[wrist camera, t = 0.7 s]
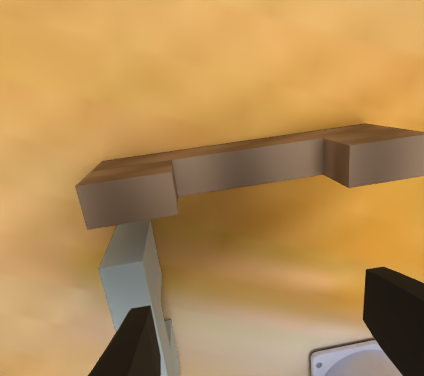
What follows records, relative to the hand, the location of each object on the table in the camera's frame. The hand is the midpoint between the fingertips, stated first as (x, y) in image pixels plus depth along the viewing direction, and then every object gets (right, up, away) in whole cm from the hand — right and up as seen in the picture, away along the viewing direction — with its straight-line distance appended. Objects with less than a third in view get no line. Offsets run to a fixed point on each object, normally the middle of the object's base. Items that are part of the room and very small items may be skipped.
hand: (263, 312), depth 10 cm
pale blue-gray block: (-6, -4, +10) cm, 13 cm away
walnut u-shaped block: (0, +6, +8) cm, 10 cm away
